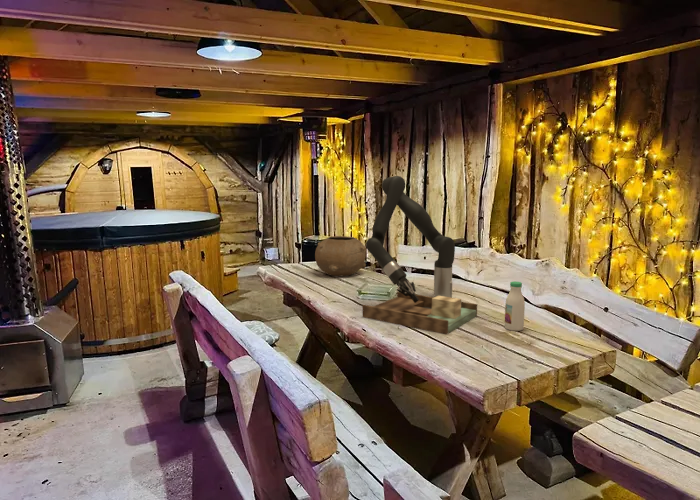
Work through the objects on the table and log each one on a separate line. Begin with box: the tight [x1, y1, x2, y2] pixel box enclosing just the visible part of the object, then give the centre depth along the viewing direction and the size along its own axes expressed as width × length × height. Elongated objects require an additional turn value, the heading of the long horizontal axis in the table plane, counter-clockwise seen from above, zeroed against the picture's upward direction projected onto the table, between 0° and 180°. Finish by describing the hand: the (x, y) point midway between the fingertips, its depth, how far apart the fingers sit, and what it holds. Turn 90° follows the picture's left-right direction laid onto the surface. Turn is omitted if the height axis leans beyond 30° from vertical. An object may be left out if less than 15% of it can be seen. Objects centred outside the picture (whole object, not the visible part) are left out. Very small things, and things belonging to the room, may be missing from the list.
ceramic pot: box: [314, 235, 367, 277], centre depth 313 cm, size 33×34×25 cm
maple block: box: [432, 296, 462, 319], centre depth 209 cm, size 11×6×8 cm, turn 53°
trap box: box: [362, 291, 478, 335], centre depth 218 cm, size 42×32×6 cm
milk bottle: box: [504, 280, 526, 332], centre depth 199 cm, size 8×8×20 cm
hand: (417, 301), depth 218 cm, fingers closed
